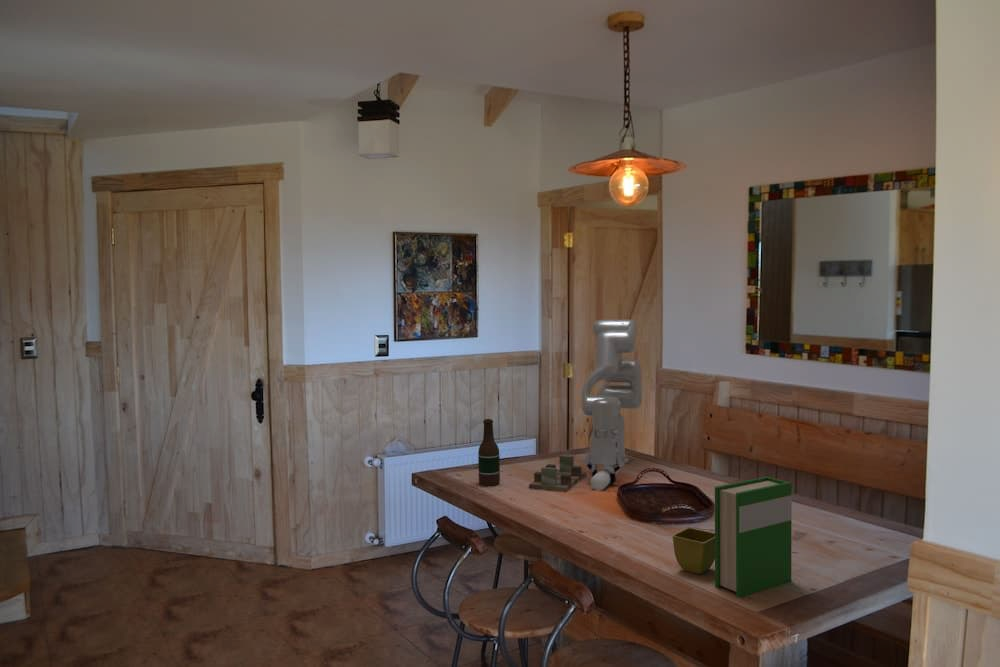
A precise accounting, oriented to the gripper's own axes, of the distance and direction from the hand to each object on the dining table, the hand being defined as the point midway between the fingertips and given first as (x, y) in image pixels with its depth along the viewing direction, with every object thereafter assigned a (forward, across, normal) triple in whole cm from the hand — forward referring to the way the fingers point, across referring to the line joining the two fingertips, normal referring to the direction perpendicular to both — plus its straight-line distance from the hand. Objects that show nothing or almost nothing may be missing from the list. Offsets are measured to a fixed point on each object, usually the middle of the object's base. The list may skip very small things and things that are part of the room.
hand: (603, 482), depth 275 cm
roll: (+1, 0, 0) cm, 1 cm away
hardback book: (+1, -57, +79) cm, 97 cm away
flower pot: (+1, -43, +74) cm, 86 cm away
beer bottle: (+1, +40, +12) cm, 42 cm away
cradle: (+1, +17, +1) cm, 17 cm away
